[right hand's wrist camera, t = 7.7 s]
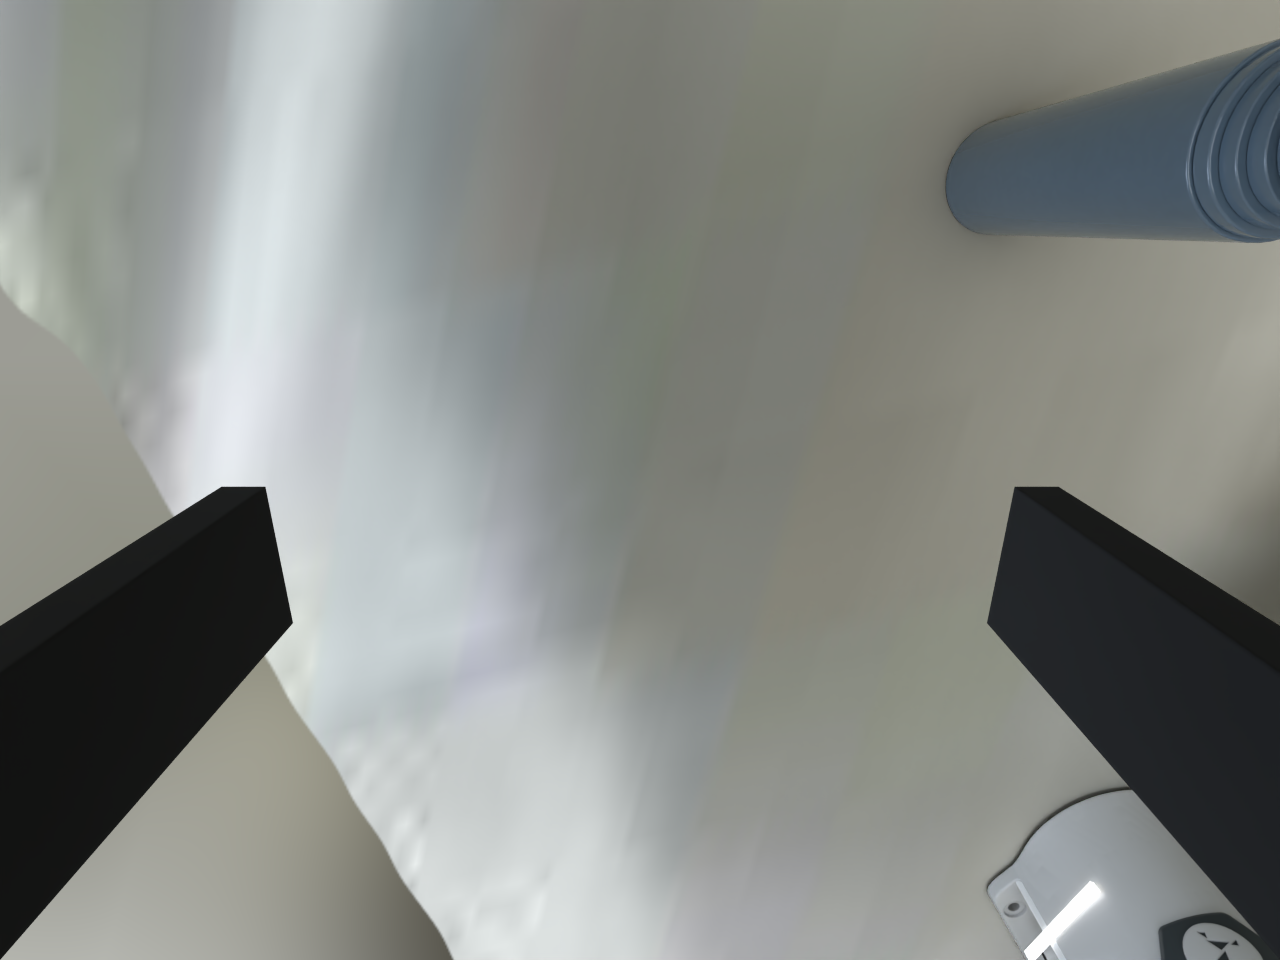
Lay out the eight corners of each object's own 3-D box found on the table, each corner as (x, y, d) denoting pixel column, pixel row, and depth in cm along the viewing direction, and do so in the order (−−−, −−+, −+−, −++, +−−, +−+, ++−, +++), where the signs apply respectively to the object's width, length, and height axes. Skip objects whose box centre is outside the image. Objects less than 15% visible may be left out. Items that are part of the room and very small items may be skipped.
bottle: (925, 172, 36) (1315, 101, 15) (1019, 93, 35) (1585, -101, 14) (980, 257, 37) (1406, 298, 17) (1072, 184, 36) (1657, 131, 15)
